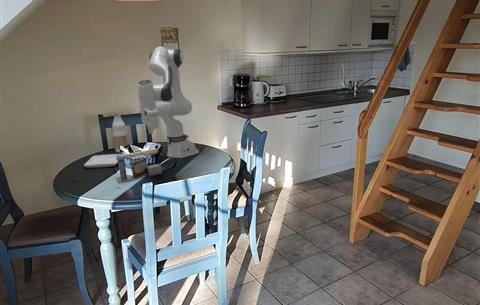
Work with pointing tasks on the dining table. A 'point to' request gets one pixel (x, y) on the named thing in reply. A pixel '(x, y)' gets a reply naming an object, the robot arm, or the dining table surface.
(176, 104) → the robot arm
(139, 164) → the food container
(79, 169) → the dining table surface
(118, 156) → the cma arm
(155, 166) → the block
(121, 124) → the fruit juice
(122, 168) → the rack post
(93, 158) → the salad plate
